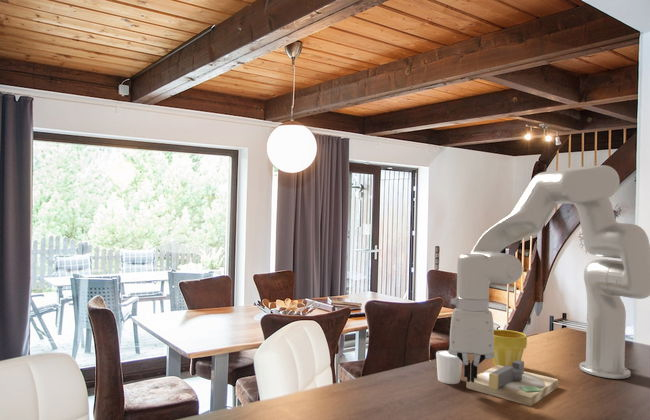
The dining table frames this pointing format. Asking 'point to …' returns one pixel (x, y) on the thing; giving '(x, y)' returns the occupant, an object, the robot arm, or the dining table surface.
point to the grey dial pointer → (506, 374)
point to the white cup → (448, 367)
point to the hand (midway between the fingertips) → (470, 380)
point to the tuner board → (516, 387)
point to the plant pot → (508, 347)
